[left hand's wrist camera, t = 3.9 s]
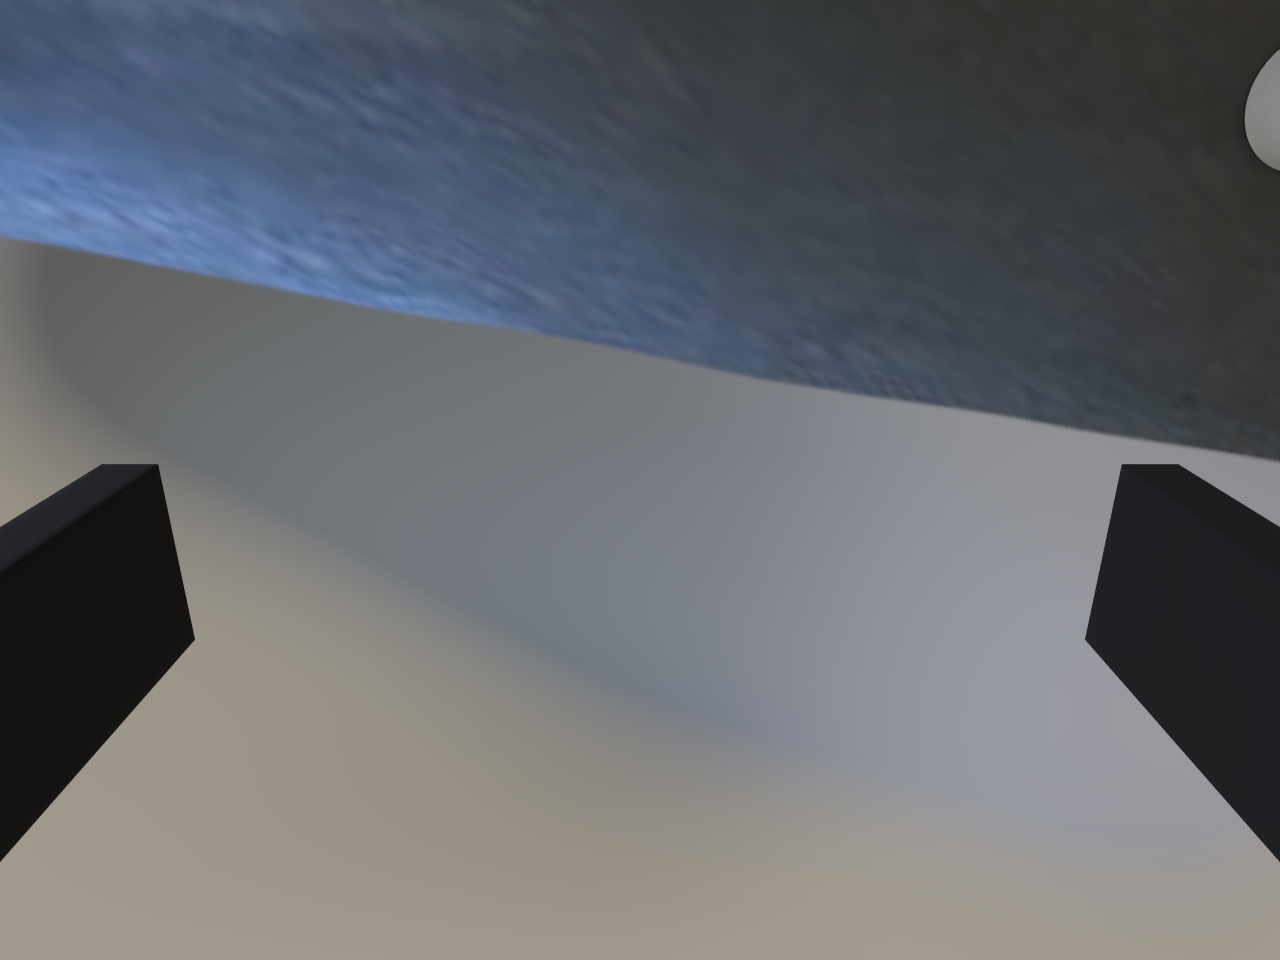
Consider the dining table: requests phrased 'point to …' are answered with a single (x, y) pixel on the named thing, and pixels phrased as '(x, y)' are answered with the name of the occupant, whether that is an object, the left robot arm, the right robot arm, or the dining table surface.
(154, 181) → the dining table surface
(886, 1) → the dining table surface
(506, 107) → the dining table surface
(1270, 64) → the jar
